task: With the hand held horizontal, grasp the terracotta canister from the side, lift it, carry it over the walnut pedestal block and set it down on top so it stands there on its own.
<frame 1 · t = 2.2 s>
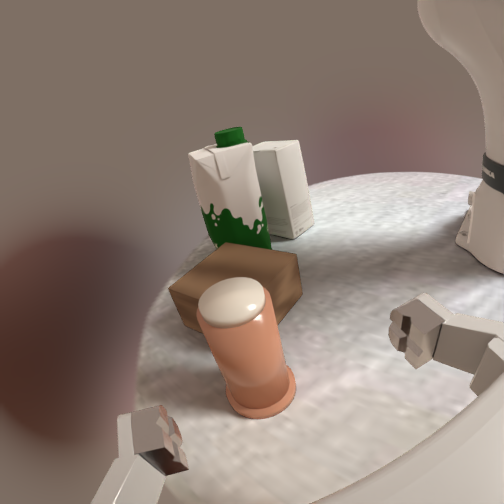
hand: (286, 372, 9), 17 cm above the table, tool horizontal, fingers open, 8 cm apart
block: (243, 310, 39), on the table
canister: (261, 390, 28), on the table
skincare box: (286, 229, 56), on the table
milk carton: (244, 257, 51), on the table
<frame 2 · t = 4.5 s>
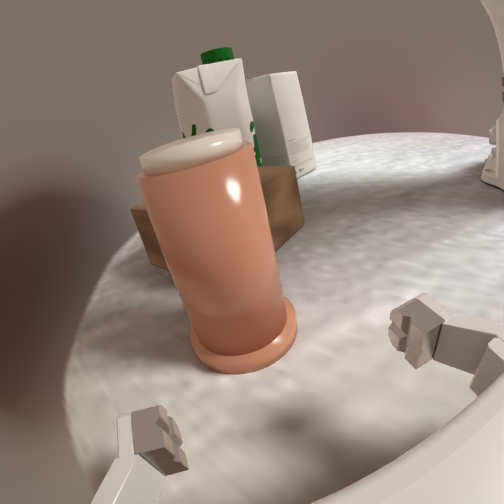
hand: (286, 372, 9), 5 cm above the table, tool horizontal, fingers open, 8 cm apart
block: (226, 244, 30), on the table
canister: (244, 332, 19), on the table
skincare box: (284, 175, 48), on the table
milk carton: (234, 198, 42), on the table
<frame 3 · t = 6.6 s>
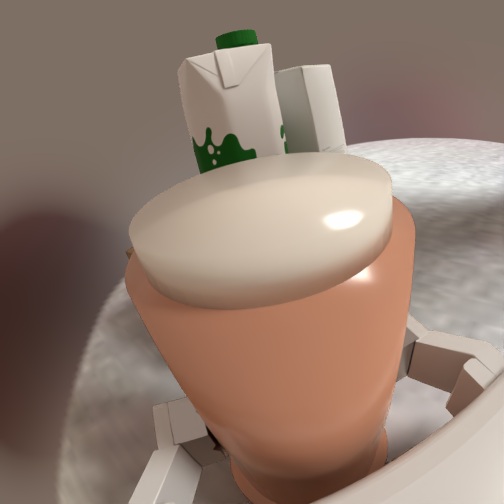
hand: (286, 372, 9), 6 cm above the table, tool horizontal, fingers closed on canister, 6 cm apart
canister: (309, 456, 11), on the table, touching gripper
skincare box: (312, 189, 40), on the table
milk carton: (257, 221, 34), on the table
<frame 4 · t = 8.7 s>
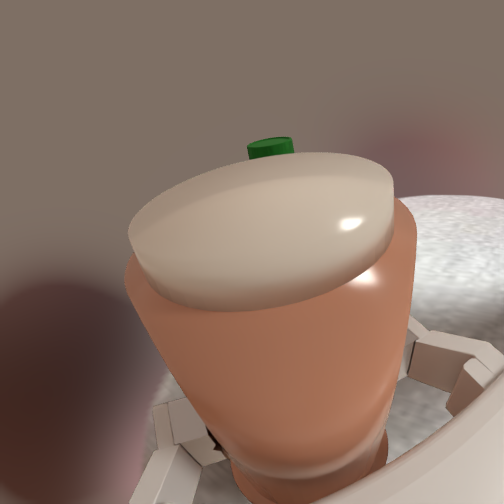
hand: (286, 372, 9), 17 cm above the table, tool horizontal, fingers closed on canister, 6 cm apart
canister: (310, 457, 11), point 11 cm above the table, touching gripper
milk carton: (282, 324, 35), on the table
when the fingers open (12 cm above the table, at t = 10.8 s): canister stays where it is, resting on block.
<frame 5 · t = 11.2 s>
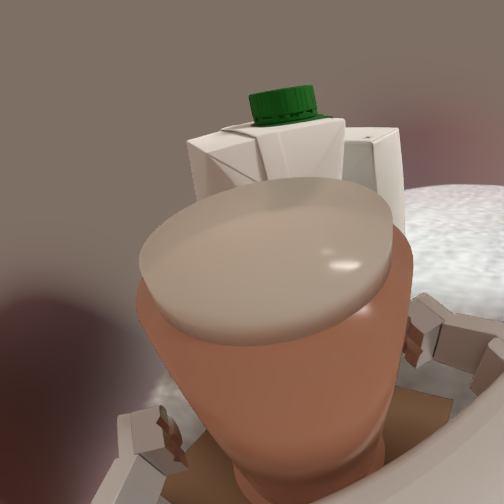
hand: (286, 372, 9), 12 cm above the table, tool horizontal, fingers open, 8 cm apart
block: (315, 490, 14), on the table
canister: (310, 461, 12), point 6 cm above the table, touching block
skincare box: (358, 283, 32), on the table
milk carton: (296, 344, 26), on the table
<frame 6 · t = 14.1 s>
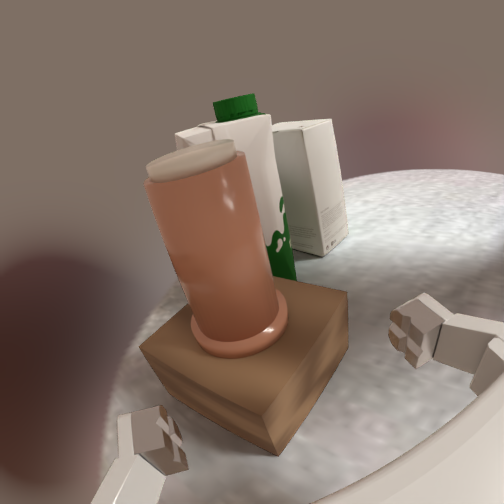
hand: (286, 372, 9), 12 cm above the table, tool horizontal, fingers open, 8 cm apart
block: (258, 374, 24), on the table
canister: (241, 322, 21), point 6 cm above the table, touching block
skincare box: (310, 242, 41), on the table
milk carton: (256, 282, 36), on the table
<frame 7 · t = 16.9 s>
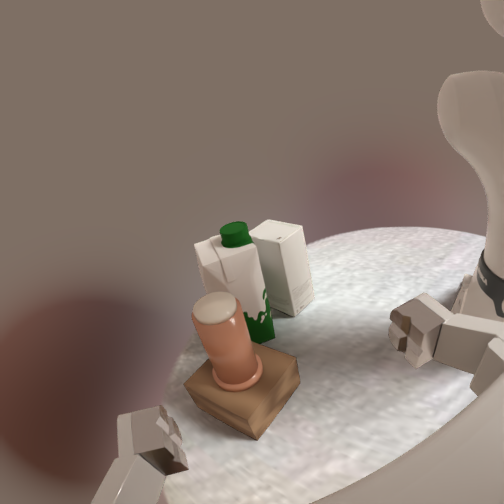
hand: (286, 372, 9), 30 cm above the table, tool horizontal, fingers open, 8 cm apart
block: (248, 396, 42), on the table
canister: (238, 372, 39), point 6 cm above the table, touching block
skincare box: (287, 302, 59), on the table
milk carton: (249, 334, 54), on the table
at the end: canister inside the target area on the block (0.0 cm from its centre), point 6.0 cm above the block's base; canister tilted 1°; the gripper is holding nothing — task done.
